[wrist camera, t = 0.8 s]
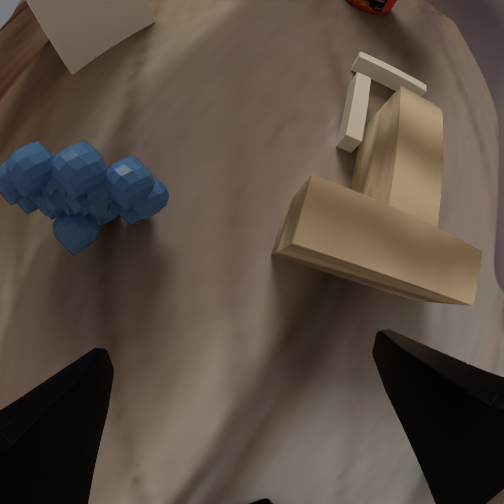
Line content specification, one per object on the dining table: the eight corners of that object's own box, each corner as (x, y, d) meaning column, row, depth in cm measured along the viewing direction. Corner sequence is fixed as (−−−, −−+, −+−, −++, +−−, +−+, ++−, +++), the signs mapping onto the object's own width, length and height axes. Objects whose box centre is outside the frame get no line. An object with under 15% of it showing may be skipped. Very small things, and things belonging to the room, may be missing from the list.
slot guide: (410, 180, 25) (424, 172, 22) (336, 146, 24) (345, 134, 22) (415, 95, 26) (426, 85, 23) (352, 64, 25) (360, 51, 23)
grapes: (53, 257, 22) (-44, 242, 10) (62, 184, 22) (-21, 132, 10) (174, 263, 22) (118, 248, 10) (180, 180, 23) (141, 98, 11)
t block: (413, 300, 24) (473, 305, 16) (271, 255, 23) (292, 243, 15) (433, 166, 25) (483, 138, 17) (312, 111, 24) (339, 57, 17)
